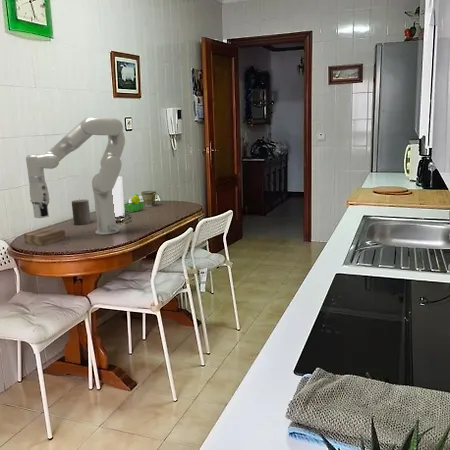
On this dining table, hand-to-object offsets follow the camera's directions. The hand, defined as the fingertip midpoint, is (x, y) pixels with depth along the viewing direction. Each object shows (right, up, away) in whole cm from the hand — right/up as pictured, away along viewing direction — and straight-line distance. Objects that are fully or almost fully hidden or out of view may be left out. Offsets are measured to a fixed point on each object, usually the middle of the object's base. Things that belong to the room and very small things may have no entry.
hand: (41, 215), depth 250 cm
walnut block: (+1, -13, +3) cm, 14 cm away
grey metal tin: (0, -1, 0) cm, 1 cm away
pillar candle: (+9, -4, +42) cm, 43 cm away
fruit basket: (+34, +4, +72) cm, 80 cm away
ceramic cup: (+43, +8, +87) cm, 97 cm away
